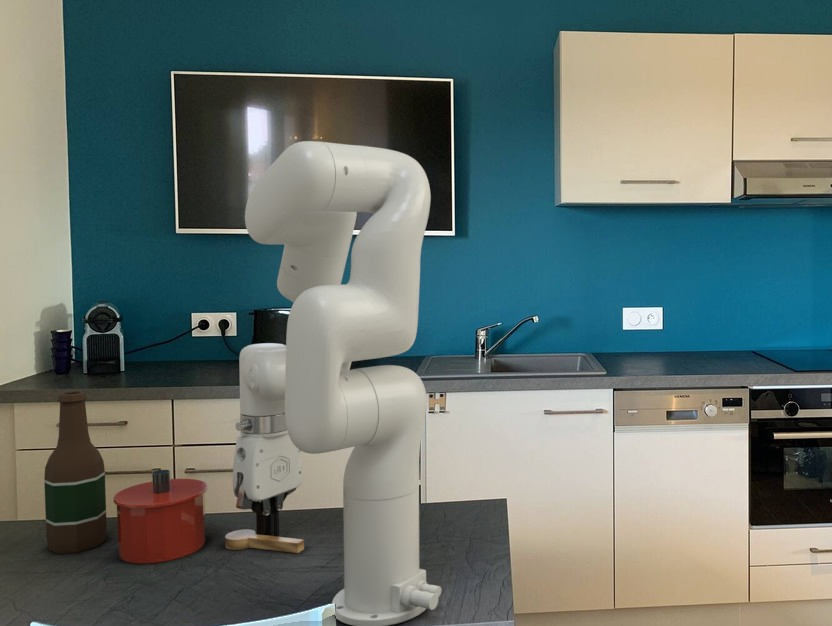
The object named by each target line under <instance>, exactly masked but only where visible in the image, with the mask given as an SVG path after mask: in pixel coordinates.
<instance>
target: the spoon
mask: <svg viewBox="0 0 832 626" xmlns="http://www.w3.org/2000/svg"><path fill="white" fill-rule="evenodd" d="M224 547H225V549H227V550H230V551H235V550H236V551H239V550H245V549H248V548H251V549H259V550H268V551H275V552H285V553H292V554H300V553H301V552H303V551H304V550H305V539H303V538H292V537H284V536H277V537H276V536H267V535H259V534H257V531H256V530H254V529H248V528H247V529H245V528H244V529H236V530H233V531H230V532H228V533H227V534H225V536H224Z"/></svg>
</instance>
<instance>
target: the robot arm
mask: <svg viewBox="0 0 832 626" xmlns="http://www.w3.org/2000/svg"><path fill="white" fill-rule="evenodd" d="M431 198H432V195H431V188H430V183H429V179H428V176H427V173H426V171H425V169H424V168H423V167H422V165H421V164H420V163H419V162H418V160H416V159H415V158H414V157H412V156H410V155H409V154H406V153H404V152H400V151H397V150H393V149H389V148H383V147H376V146H368V145H357V144H344V143H338V142H337V143H335V142H327V141H316V140H315V141H314V140H313V141H312V140H304V141H303V140H302V141H297V142H295V143H293V144H291V145H289V146H288V147H287V148H286V149H285V150H283V152H282V153H280V155H279V156H278V157H277V158H276V159H275V160H274V161H273V162H272V163H271V165H269V167H268V168H267V169H266V170H265V171H264V172H263V173H262V175H261V176H260V177H259V178H258V180H257V181H256V183H255V184H254V185H253V187H252V189H251V191H250V193H249V196H248V198H247V201H246V205H245V211H244V222H245V224H244V225H245V228H246V231H247V233H248V235H249V237H250V238H251V239H252V240H253V241H254V242H256V243H258V244H261V245H268V246H269V245H284V246H283V252H282V256H281V261H280V266H279V270H278V275H277V278H276V287H277V290H278V292H279V293H280V295H282V296H283V297H284V298H286V299H287V300H289V301H290V302H292V306H291V308H290V310H289V312H288V313H289V314H288V318H287V323H286V338H285V344H283V343H275V342H265V343H253V344H248V345H246V346H244V347H243V348H242V349H241V350H240V352H239V358H238V359H239V362H238V363H239V366H238V368H239V421H238V422H236V423H235V429H236V430H237V431H238V432H239V434H238V435H237V437H236V442H235V447H234V455H233V464H232V465H233V466H232V490H233V491H232V492H233V495H234V497H236V498H237V499H236V504H235V507H236V508H237V509H239V510H251V511H252V513H253V514H255V515H256V517H255V518H256V520H255V522H256V534H259V535H267V536H276V537H280V512H281V511H282V510H283V507H284V502H285V501H286V498H287V497H288V496H289V495H291V494H292V493H294V492H295V491H296V490H297V488H298V487H300V486H301V484H302V483H303V475H304V474H303V457H302V452H303V453H306V454H311V455H313V454H314V455H315V454H316V455H318V454H319V455H320V454H325V453H329V452H330V453H331V452H336V451H340V450H344V449H345V450H346V449H350V448H353V449H352V451H351V453H350V455H349V457H348V458H347V459H348V460H347V462H346V464H345V468H344V472H343V478H342V479H343V480H342V500H343V502H342V503H343V504H342V505H343V507H342V509H343V513H342V515H343V583H344V584H343V586H344V587H343V588H342V589H341V590H340V591H338V592H337V593H336V594H335V596H333V598H332V601H331V604H332V603H335V604H336V618H335V619H336V620H338V621H339V622H341V623H343V624H346V625H349V626H394V625H397V624H400V623H404V622H407V621H410V620H412V619H414V618H415V617H417V616H419V615H421V614H422V613H424V612H426V610H430V611H433V610H435V609H436V608H437V606H438V604H439V597H440V596H441V594H442V587H441V586H440V585H435V584H429V583H428V581H427V570H426V569H423V568H420V453H421V451H420V449H421V441H422V435H423V429H424V424H425V418H426V413H427V405H428V404H427V403H428V402H427V401H428V400H427V399H428V398H427V391H426V386H425V385H424V382H423V380H422V378H421V377H420V376H419V375H418V374H417V373H416V372H415V371H414V370H412V369H410V368H409V367H405V366H401V365H393V364H385V365H383V364H382V365H376V366H375V365H374V366H367V367H359V368H352V369H351V365H352V362H359V361H365V360H367V361H368V360H374V359H382V358H387V357H393V356H398V355H401V354H403V353H406V352H407V351H409V350H410V349H411V348H412V347H413V345H414V343H415V340H416V339H417V333H418V324H419V308H420V287H421V286H420V284H421V256H422V247H423V242H424V236H425V232H426V229H427V224H428V220H429V216H430V209H431V200H432V199H431ZM358 213H370V214H373V215H372V216H370V217H369V219H368V220H367V221H366V222H365V224H364V225H363V226H362V227H361V229H360V230H359V232H358V234H357V235H356V237H355V239H354V241H353V244H352V239H353V234H354V231H355V230H354V229H355V226H356V221H357V217H358ZM351 244H352V246H351ZM350 247H351V253H350V274H349V280H348V282H347V283H346V284H342V282H343V277H344V272H345V268H346V264H347V260H348V255H349V252H350Z"/></svg>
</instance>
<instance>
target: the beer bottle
mask: <svg viewBox="0 0 832 626" xmlns="http://www.w3.org/2000/svg"><path fill="white" fill-rule="evenodd" d="M87 399H88V395H87V393H86V392H84V391H80V390H73V391H65V392H63V393H60V394H58V397H57V400H56V401H57V402H58V403H59V419H58V420H59V421H58V438H57V444H56V447H55V448H54V450H53V451H52V453H51V454H50V455H49V457H48V459H47V461H46V464H45V467H44V478H43V482H44V483H43V484H44V509H45V534H46V537H45V538H46V546H47V549H48V550H49V551H50V552H53V553H55V554H56V555H62V554H64V555H65V554H77V553H82V552H85V551H89V550H91V549H95V548H98V547H99V546H100V545H101V544H103V542H105V541H106V539H107V527H108V526H107V523H108V522H107V495H106V492H107V491H106V470H105V461H104V459H103V456H102V455H101V452H100V450H99V449H98V448H97V447H96V446H95V445H94V444H93V443H92V441H91V438H90V434H89V426H88V415H87V408H86V407H87V406H86V400H87Z"/></svg>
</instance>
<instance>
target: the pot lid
mask: <svg viewBox="0 0 832 626" xmlns="http://www.w3.org/2000/svg"><path fill="white" fill-rule="evenodd" d="M151 477H152V481H147V482H143V483H139V484H135V485H132V486H129V487H126V488H123V489H122V490H119V491H118V492H117V493H115V494H114V496H113V504H115V505H116V506H117V505H118V506H121V507H127V508H153V507H162V506H168V505H173V504H178V503H182V502H186V501H189V500H192V499H194V498H197V497H199V496H201V495H202V494H204V493H205V494H206V492H207V491H208V489H209V488H208V486H209V485H208V483H207V482H205V481H203V480H200V479H196V478H171V470H169V469H159V470H155V471H153V472H152V473H151Z"/></svg>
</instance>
